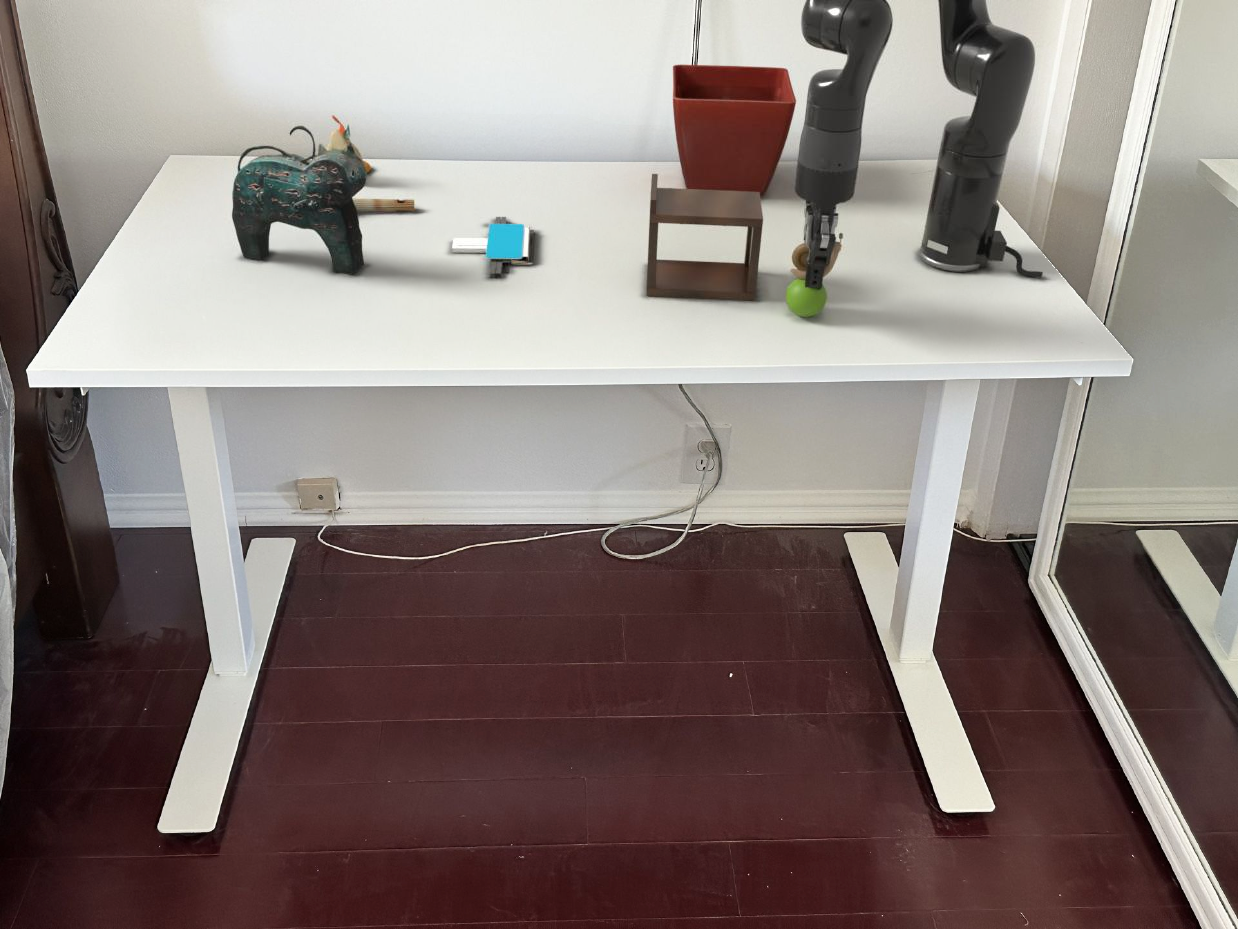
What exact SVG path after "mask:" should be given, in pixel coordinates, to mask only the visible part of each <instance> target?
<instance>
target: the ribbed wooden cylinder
mask: <svg viewBox="0 0 1238 929" xmlns="http://www.w3.org/2000/svg"><path fill="white" fill-rule="evenodd" d="M352 199H353V202H354V204H355V207H356V209H357V211H372V212H373V211H375V212H377V211H379V212H381V211H382V212H383V211H384V212H385V211H386V212H399V211H403V212H415V199H403V200H402V199H399V198H398V199H395V198H359V197H357V198H356V197H355V198H354V197H352Z"/></svg>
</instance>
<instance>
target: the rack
mask: <svg viewBox="0 0 1238 929" xmlns="http://www.w3.org/2000/svg"><path fill="white" fill-rule="evenodd" d="M658 176H659V174H658V173H651V186H650V198H649V199H650V200H649V202H650V203H649V220H648V221H649V222H648V224H649V226H648V242H647V243H648V246H647V266H646V267H647V271H646V272H647V274H646V289H645V290H646V293H645V295H646V297H662V298H683V299H684V298H685V299H687V298H688V299H710V300H731V301H752V302H753V301H756V293H757V284H758V274H759V263H760V255H761V254H760V253H761V244H762V236H763V225H764V216H763V208H762V201H761V196H760V193H759V192H748V191H724V190H700V189H686V188H674V187H658V179H659V178H658ZM659 224H673V225H694V226H695V225H696V226H697V225H698V226H719V227H720V226H721V227H743V228H744V227H745V228H747V229H746V238H745V249H744V261H743V262H724V261H721V262H720V261H702V260H701V261H700V260H681V259H679V260H677V259H658V242H659V241H658V238H659Z"/></svg>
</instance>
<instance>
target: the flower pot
mask: <svg viewBox="0 0 1238 929" xmlns="http://www.w3.org/2000/svg"><path fill="white" fill-rule="evenodd" d="M796 104H797V99H796V96H795V92H794V88H793V85H792V82H791V77H790V72H789V70H788V69H787V68H784V67H775V66H773V67H772V66H746V65H745V66H744V65H709V64H674V65H673V66H672V108H673V109H672V112H673V121H674V132H675V140H676V145H677V153H678V158H679V163H680V168H681V173H682V177H683V182H684V185H685V189H700V190H724V191H748V192H759V193H760V197H764V196H765V195H766V193H767V191H768V188H769V187H770V185H771V182H772V180H773V178H774V175H775V173H776V170H777V168H778V166H779V163H780V161H781V157H782V154H783V151H784V149H785V146H786V141H787V139H788V135H789V132H790V129H791V126H792V125H791V124H792V121H793V117H794V114H795V110H796Z"/></svg>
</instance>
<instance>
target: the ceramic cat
mask: <svg viewBox="0 0 1238 929" xmlns="http://www.w3.org/2000/svg"><path fill="white" fill-rule="evenodd" d="M298 130H301V131H304V132H306V133H307V134H308V135H309V136H310V138H311V141H312V154H311V156H308V157H304V156H301V155H298V154H295V153H289V152H286V151H284V150H283V149H281V148H278V147H276V146H273V145H255V146H251V147H248V148H246V149H245V150H244V151H243V152H242V154H241V155H240V157H239V159H238V162H237V174H236V176H235V178H234V181H233V184H232V185H233V186H232V192H231V193H232V194H231V197H232V211H231V218H232V222H233V226H234V229H235V233H236V238H237V241H238V244H239V247H240V251H241V254H242V256H243V258H244V259H249V260H254V261H263V260H265V258H266V257H268V256H269V255H270V232H271V227H272V224H274V223H282V224H286V225H289V226H291V227H295V228H298V229H302V230H311V231H314V232H315V233H317V235H318V236H319V237H320V238H321V240H322V242H323V243H324V245H325V246H326V249H328V252H329V256H330V260H331V269H332V272H333V273H345V274H350V275H355V274H356V273H357V272H358V271H360V269H361V268H362V267H363V266H365V261H364V252H363V235H362V234H363V232H362V231H361V227H360V220H359V211H358V210H357V209H356V207H355V204H354V202H353V199H352V198H354V197H355V196H356V195H357V194H358V193H359V192H360V191H362V189H363V188H364V187H365V186H366V184H367V180H368V179H367V178H368V177H367V173H366V167H365V165H364V163H363V161H364V160H363V159H362V160H363V161H362V160H361V159H360V158H359V157H358V156H357V155H356V153H355V151H354V148H353V146H352V145H351V143H352V142H351V143H349V144H348V145H347V146H346V147H345V148H344V149H343V150H333V151H327V150H326V149H327V148H326V147H325V146H324V144H321V143H319V144H318V148H317V149H318V150H317V151H316V143H315V139H314V135H313V134H312V132H311V130H309V128H307V127H305V126H304V125H296V126H294V127H293V128H292V129H291V130H290V131H289V135H290V136H292V134H293V133H294V132H295V131H298ZM265 149H266V150H273V151H277V152H279V154H263V155H260V156H258V157H254V158H253V159H251V160H249V162H248V163H247V164H245V165H244V166H242V167H241V164H242V161H243V160H244V158H245V157H246V156H247V155H248V154H249V153H251V152H252V151H257V150H265ZM316 152H317V155H316Z"/></svg>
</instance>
